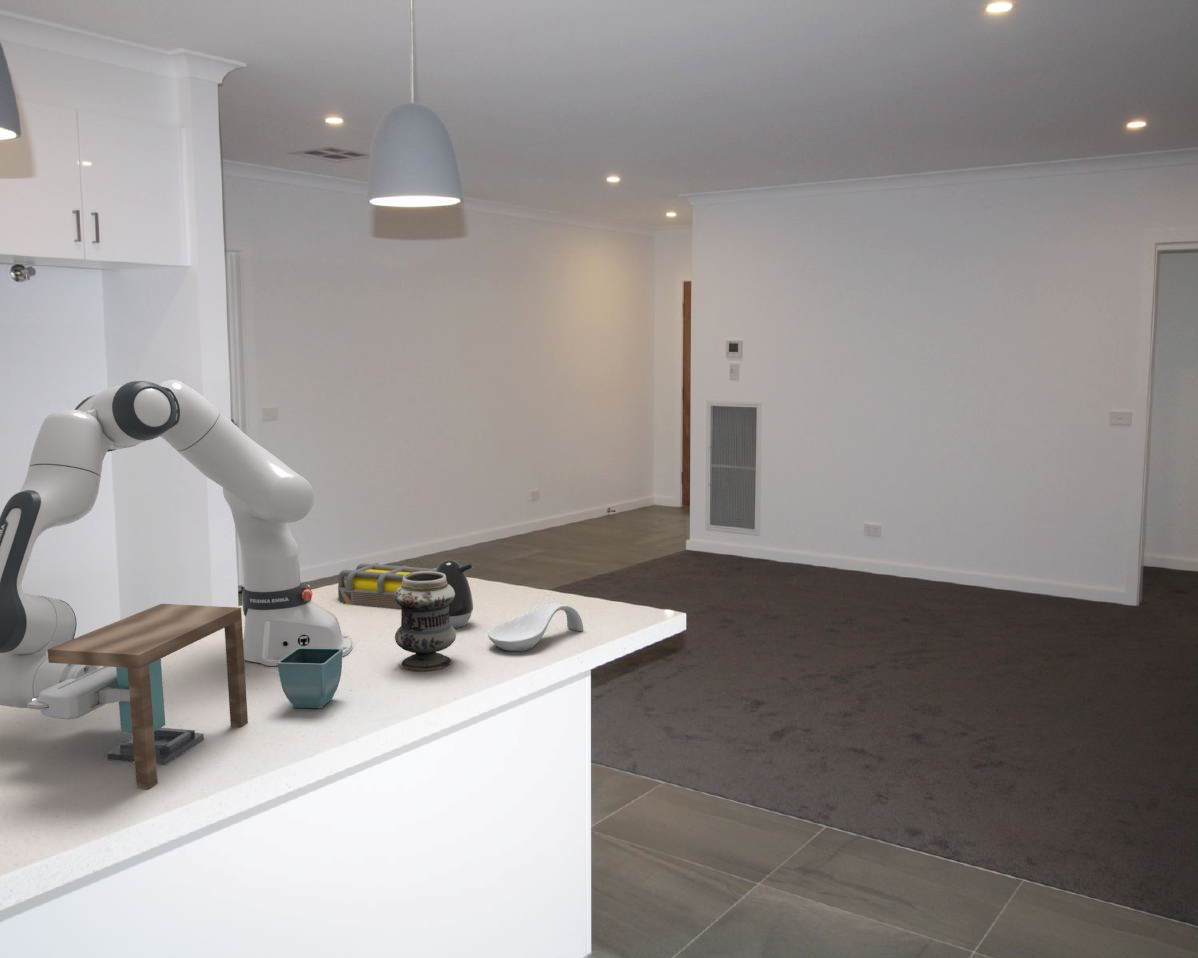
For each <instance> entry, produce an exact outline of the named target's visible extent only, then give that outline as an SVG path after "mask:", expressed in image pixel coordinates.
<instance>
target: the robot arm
mask: <svg viewBox="0 0 1198 958" xmlns="http://www.w3.org/2000/svg"><path fill="white" fill-rule="evenodd" d="M36 436H37V437H36V440H35V443H34V445H33V448H32V451H31V455H30V460H29V463H28V469H27V473H26V477H25V479H24V483H23V484H22V486H21V488H20V490H19V491H18V492H16V493H15V494H14V495H12V496H11V497H10V498H9V499H8V501H7V502H6V504H5V506H4V507H3V509H2V511H1V514H0V706H4V707H9V708H10V707H11V708H17V709H30V710H34V711H35V710H38V711H39V710H40V713H41V715H43V716H46V717H50V718H55V719H62V720H75V719H80V718H81V717H84V716H85V715H87V714H89V713H90V712H93V711H95V710H96V709H99V708H101V707H103V706H105V705H106V704H113V703H117V702H118V703H119V702H120V701H128V702H130V694H129V687H126V688H123V689H118V684H117V671H116V667H106V666H91V665H76V664H61V663H49V661H48V649H50V648H52V647H55V646H57V645H60V644H62V643H65V642H67V641H70V640H72V639H75V636H76V631H77V618H76V614H75V612H74V611H75V610H74V609H73V608H72V606H71V605H70V604H69V603H68V602H66V601H64V600H62V599H57V598H52V597H49V596H48V597H47V596H44V595H36V594H35V595H34V594H30V593H26V592H23V589H22V582H23V580H24V577H25V576H24V575H25V572H26V569H27V567H28V564H29V560H30V557H31V554H32V551H33V548H34V545H35V544H36V543H35V542H36V541H37V540H38V538H39V536H41V534H43V533H44V532H45V531H47V530H48V529H51V528H54V527H60V526H66V525H68V524H73V523H74V522H76V521H79V520H81V519H82V518H84V517H86V515H87V514H88V513H90V512H91V511H92V509H93V508H94V505H95V504H96V500H97V499H98V494H99V490H100V483H101V478H102V471H103V462H104V459H105V456H106V454H107V453H108V452H113V451H116V450H123V449H127V448H132V447H136V446H138V445H140V444H142V443H145V442H146V441H152V440H154V439H157V438H158V437H159V438H162V439H163V440H164V441H166V442H167V443H168V445H170V446H171V447H172V448H173V449H174V450H176V452H178V453H179V454H180V455H181V456H182V457H183V458H185V459H186V460H187V462H189V463H190V464H191V465H193V467H194V468H196V469H197V470H198V472H200V473H201V474H203V475H204V476H205V477H206V478H207V479H210V480H211V481H212V482H214V483H216V484H218V486H220V487H222V493H223V497H224V499H225V502H226V503H227V504H228V506H229V509H230V512H231V514H232V519H233V522H234V525H235V529H236V532H237V536H238V537H237V538H238V540H239V545H240V549H241V556H242V570H243V572H242V573H243V588H242V590H241V591H242V593H241V603H242V612H243V615H244V629H243V648H244V661H247V662H251V663H259V664H262V665H265V666H267V667H273V666H274V667H276V666H277V662H278V661H280V660H281V659H283V658H284V657H286V656H287V655H288V654H290V653H291V652H292V651H294V650H295V649H297V648H333V649H334V648H335V649H343V654H342V657H344V656H347V655H348V654H349V653H351V651H352V649H353V646H354V645H353V640H352V637H350V636H349V635H346V634H344V633H342V630H341V629H342V628H341V626H340V622H339V620H338V618H337V617H336V615H335V614H333V613H332V612H330V611H329V610H327V609H326V608H324V607H322V606H321V605H319V604H317V603H316V602H315V601H313V600H312V599H313V598H312V597H313V591H312V588H311V586H310V584H305V583H303V582H301V565H300V550H299V546H298V543H297V541H296V539H295V538H294V536H293V534H292V531H291V528H290V525H289V523H294V522H295V523H296V522H298V521H301V520H302V519H304V518H305V517H306V516H308V515H309V513H310V511H311V510H312V509H313V505H314V501H315V495H314V494H315V493H314V492H315V491H314V489H313V487H312V485H311V483H310V482H309V481H308V480H307V479H306V478H305V477H303V476H302V475H300V474H298V473H297V472H296V471H295V470H293V469H292V468H291V467H289V466H288V465H287V464H286V463H285V462H283V461H282V460H281V459H279V458H278V457H277V456H275V455H274V454H273V453H271V452H270V451H269V450H267V449H266V448H264V447H263V446H262V445H261V444H259V443H257V442H256V441H255V440H253V439H252V438H251V437H249V436H248V435H247V434H246V433H245V432H243V430H241V429H240V428H239V427H238V426H237V425H236V424H235V423H234V422H233V421H231V419H229V417H228V416H226V414H224V413H223V412H222V411H221V410H220V409H219V408H217V406H215V405H214V404H213V403H212V402H211V401H210V400H209V399H207V398H206V397H205V396H204V395H203V394H201V393H199V392H198V391H196V390H195V389H193V388H192V387H191V386H189V385H187V384H186V383H184V382H183V381H180V380H177V379H168V380H164V381H161V382H159V383H158V384H157V383H155V382H150V381H145V380H135V381H134V380H133V381H130V382H127V383H125V384H118V385H115V386H111V387H108V388H105V389H104V390H102V391H100V392H98V393H96V394H93V395H90V396H88V397H86V398H85V399H83V400H82V401H81V402H80V403H79V404H78V405H76V407H75V409H60V410H56V411H53V412H51V413H50V414H48V415H47V416H46V417H45V419H44V420H43V422H42V425H41V426H40V429H39V432H38V434H37V435H36Z"/></svg>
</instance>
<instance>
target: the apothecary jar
mask: <svg viewBox="0 0 1198 958" xmlns="http://www.w3.org/2000/svg"><path fill="white" fill-rule="evenodd" d="M394 597H395V601H396V602H397V604H399V605H400V606H401V609H400V611H401V612H400V613H401V614H400V615H401V616H400V617H401V618H400V619H401V620H400V623H401V624H400V626H399V627H398V628H397V630H396V632H395V635H394V641H395V643H396V645H397V646H398V647H399V648H401V649H402V650H404V651H406V652H408V653H413V654H411V655H409V656H407V657H405V658H404V659H403V660H402V661H401V663H400V664H401V666H402V667H403V669H407V670H409V671H414V672H415V671H416V672H417V671H419V672H427V671H428V672H429V671H437V670H441V669H443V668H444V667H446V666H450V665H451V663H452V659H451V658H450V657H449V656H448V655H444V654H442V653H439V652H440V651H443V650H446V649H448V648H450V647H451V646H452V645H453V644H454V642H455V641H456V638H457V631H456V628H453V627H452V626H451V625H450V621H449V604H450V603H451V602H452V601H453V599H454V597H455V592H454V589H453V588H452V587H451V586H450V585H449V584H447V581H446V575H445V574H444V573H441V572H434V571H419V572H413V573H409V574H406V575H404V576H403V581H402V585H401V586H400V587H399V588H398V589H397V591H396V592H395V596H394Z"/></svg>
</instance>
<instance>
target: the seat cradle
mask: <svg viewBox="0 0 1198 958" xmlns="http://www.w3.org/2000/svg"><path fill="white" fill-rule="evenodd" d="M204 734H205V733H203V732H202V733H199V732H196V730H194V729H184V728H183V729H182V728H170V727H169V728H168V727H161V728H159V729H158V730H156V731H154V740H155V754H156V765H164V766H166V765H168V763H171V762H172V761H173V760H175V759H177V758H178V757H179V756H181V755H182V754H184V753H186V752H187V751H189V750H190V749H192V748H194V747H195V746H196V745H198V744H199V743H201V742H203V741H204V740H205V735H204ZM107 760H108V761H116V762H117V761H118V762H119V761H120V762H129V763H135V760H134V747H133V738H132V739H130V740H129V741H127V742H126V741H125V742H124V741H123V742H122V743H120V744H119V746H118V747H117V748H114V749H113V750H111V751H109V752H108V753H107Z"/></svg>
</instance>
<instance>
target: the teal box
mask: <svg viewBox="0 0 1198 958" xmlns="http://www.w3.org/2000/svg"><path fill="white" fill-rule="evenodd" d="M162 670H163V669H162V658H161V659H159V660H157V661H155V662H153V663H151V664H149V671H150V685H151V699H152V712H153V726H154V731H156V730H158V729H159V728H164V727H165V726H166V716H165V715H166V714H165V712H166V711H165V699H164V686H163V673H162ZM116 671H117V684H118V689H123V688H126V687H129V681H128V668H121V667H116ZM118 708H119V722H120V732H121V733H127V734H132V721H131V707H130V702H128V701H120V702H118Z"/></svg>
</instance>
